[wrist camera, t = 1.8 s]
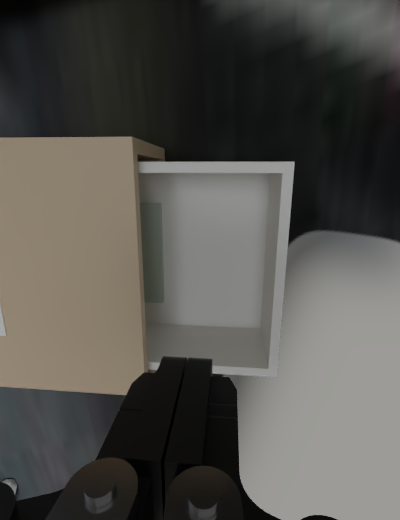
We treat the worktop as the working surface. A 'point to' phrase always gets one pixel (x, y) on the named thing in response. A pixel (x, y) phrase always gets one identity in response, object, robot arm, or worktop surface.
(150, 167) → the tray
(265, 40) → the worktop surface
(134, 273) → the sleeve
